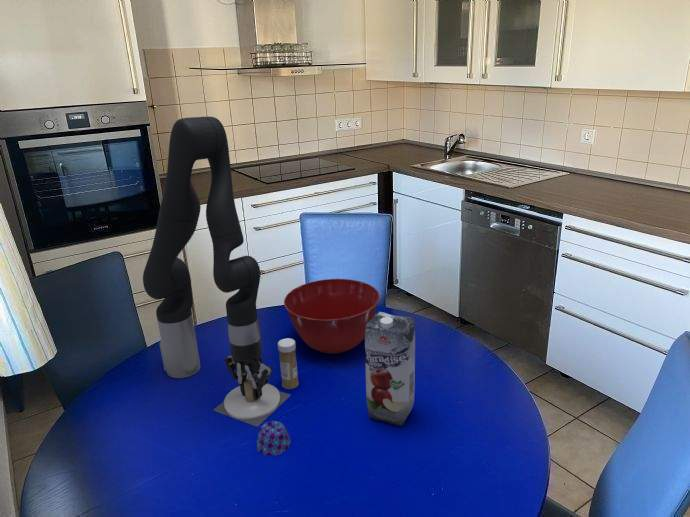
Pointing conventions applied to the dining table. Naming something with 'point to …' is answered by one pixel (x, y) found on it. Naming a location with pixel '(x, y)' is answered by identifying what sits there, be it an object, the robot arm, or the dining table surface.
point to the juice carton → (390, 367)
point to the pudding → (273, 439)
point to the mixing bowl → (332, 313)
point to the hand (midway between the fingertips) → (251, 396)
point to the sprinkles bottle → (288, 363)
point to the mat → (256, 421)
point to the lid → (251, 402)
